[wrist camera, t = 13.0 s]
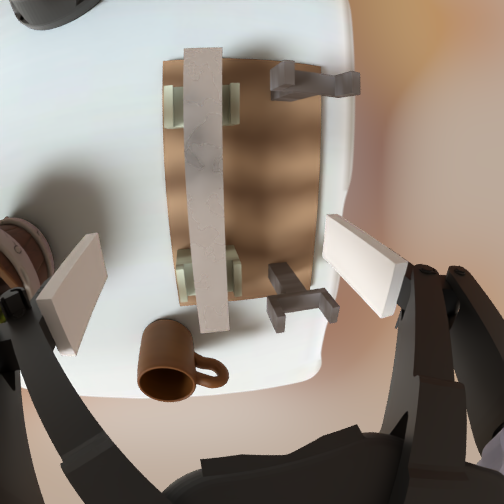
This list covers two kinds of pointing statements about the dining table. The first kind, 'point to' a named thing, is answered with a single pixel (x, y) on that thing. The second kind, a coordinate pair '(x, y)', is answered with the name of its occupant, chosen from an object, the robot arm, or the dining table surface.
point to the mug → (174, 363)
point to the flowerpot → (23, 257)
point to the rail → (205, 184)
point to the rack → (259, 180)
